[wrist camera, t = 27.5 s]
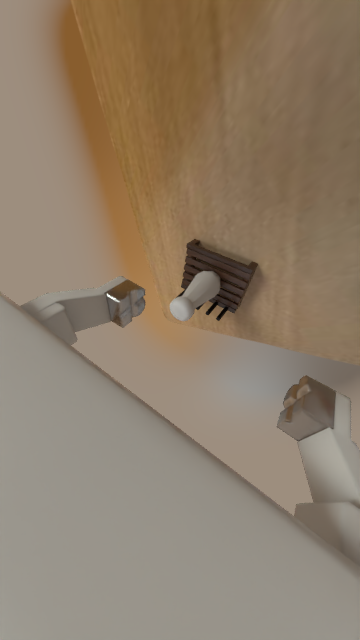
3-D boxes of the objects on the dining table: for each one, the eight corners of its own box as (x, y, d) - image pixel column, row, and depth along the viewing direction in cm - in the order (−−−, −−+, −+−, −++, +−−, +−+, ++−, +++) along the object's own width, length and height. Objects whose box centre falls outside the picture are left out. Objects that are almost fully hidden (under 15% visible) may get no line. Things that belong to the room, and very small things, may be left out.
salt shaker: (207, 294, 45) (174, 328, 37) (195, 272, 43) (158, 302, 35) (229, 287, 41) (198, 324, 32) (216, 262, 39) (180, 294, 31)
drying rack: (194, 238, 42) (175, 250, 37) (258, 263, 37) (244, 280, 33) (187, 282, 50) (170, 296, 45) (238, 306, 45) (226, 325, 41)
